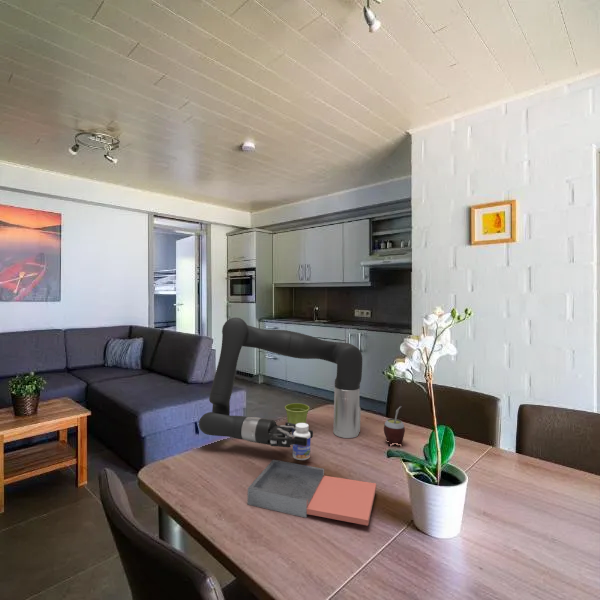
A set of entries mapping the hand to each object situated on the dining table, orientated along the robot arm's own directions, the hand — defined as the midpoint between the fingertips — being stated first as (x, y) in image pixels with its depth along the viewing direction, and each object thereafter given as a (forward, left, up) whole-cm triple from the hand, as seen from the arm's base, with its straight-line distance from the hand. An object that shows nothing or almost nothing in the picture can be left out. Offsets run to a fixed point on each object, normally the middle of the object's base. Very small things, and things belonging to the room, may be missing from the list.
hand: (309, 438), depth 109 cm
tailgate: (+12, +15, -6) cm, 20 cm away
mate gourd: (-33, +9, -8) cm, 35 cm away
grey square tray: (+15, +9, -8) cm, 19 cm away
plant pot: (-15, -22, -8) cm, 28 cm away
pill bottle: (+1, -2, -6) cm, 7 cm away
